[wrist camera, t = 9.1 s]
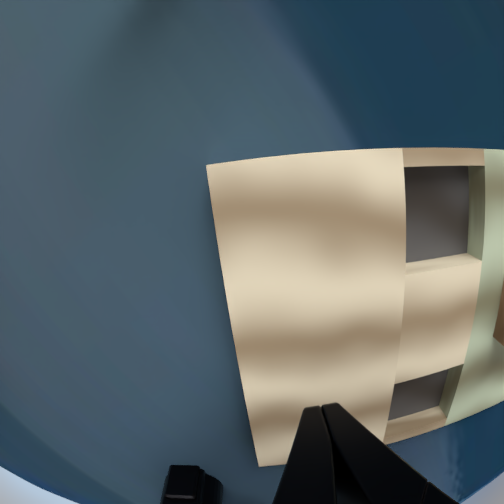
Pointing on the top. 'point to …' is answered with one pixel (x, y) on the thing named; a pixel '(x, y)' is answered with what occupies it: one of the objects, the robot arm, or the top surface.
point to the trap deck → (363, 286)
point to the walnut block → (500, 321)
